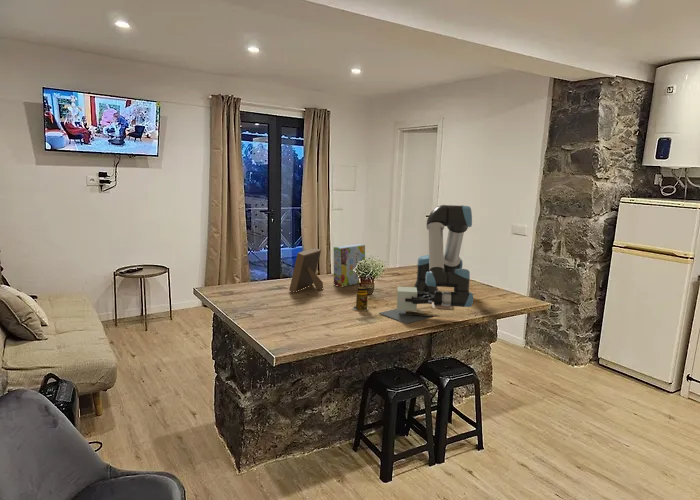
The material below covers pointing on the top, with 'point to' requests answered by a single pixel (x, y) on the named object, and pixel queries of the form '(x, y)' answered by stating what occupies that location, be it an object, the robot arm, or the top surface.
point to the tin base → (441, 306)
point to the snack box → (347, 263)
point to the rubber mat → (403, 316)
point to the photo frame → (306, 270)
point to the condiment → (361, 299)
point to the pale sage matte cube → (406, 293)
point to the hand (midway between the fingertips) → (398, 296)
